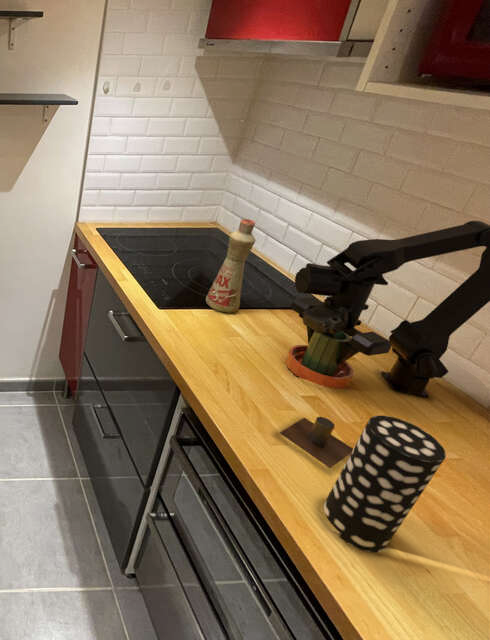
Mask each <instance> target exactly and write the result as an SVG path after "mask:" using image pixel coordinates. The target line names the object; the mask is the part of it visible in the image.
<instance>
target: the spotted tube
mask: <svg viewBox="0 0 490 640" xmlns="http://www.w3.org/2000/svg"><path fill="white" fill-rule="evenodd" d="M363 428H364V429H363V430H362V432H361V434H360V436H359V438H358V439H357V441H356V443H355V445H354V447H353V451H352V453H350V454H349V455H348V459H347V460H346V462H345V463H344V466H343V468H342V469H341V471H340V473H339V475H338V477H337V479H336V480H335V482H334V484H333V486H332V488H331V490H330V492H329V494H328V495H327V497H326V499H325V501H324V503H323V513H324V515H325V517H326V519H327V520H328V521H329V523H330V525H331V526H333V528H334V529H335V530H336V531H333V533H334V534H335V535H336V536H337V537H339V538H340V540H342V541H344V542H345V543H346V544H348V545H350V546H352V547H354V548H356V549H358V550H361V551H364V552H369V553H382V552H383V551H385V549H386V548H387V546H388V545H389V543H390V541H391V540H392V539H393V538H394V536H395V534H396V533H397V531H398V530H399V528H400V527H401V525H402V524H403V522H404V521H405V519H406V518H407V516H408V515H409V513H410V512H411V510H412V509H413V507H414V506H415V504H416V503H417V501H418V499H419V498H420V497H421V495H422V494H423V493H424V490H425V489H426V487H427V486H428V484H429V483H430V482H431V480H432V479H433V477H434V475H435V474H436V472H437V471H438V470H439V468H440V467H441V465H442V464H443V462H444V460H445V459H446V457H447V452H446V450H445V448H444V447H443V445H442V444H441V443H440V442H439V441H438V440H437V439H436V438H435V437H434V436H432V435H431V434H430V433H428V432H427V431H425V430H424V429H422V428H420V427H419V426H417V425H415V424H413V423H411V422H409V421H406V420H404V419H401V418H397V417H394V416H389V415H374V416H372V417H370V418H369V420H368V422H367V423H366V424H365V427H363ZM337 531H338V532H337Z"/></svg>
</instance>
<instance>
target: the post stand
mask: <svg viewBox="0 0 490 640" xmlns="http://www.w3.org/2000/svg"><path fill="white" fill-rule="evenodd" d="M335 427H336V426H335V423H334V422H333V421H332V420H330V419H329V418H326V417H323V416H318V417H316V418H315V421H314V422H312V421H311V420H309V419H307V418H306V417H302V418H301V419H299V420H298V421H296V422H295V423H293V424H291V425H290V426H288V427H286V428H285V429H283V430H281V431H280V432H279V434H280V435H281V436H283V437H284V438H286V439H287V440H288V441H290V442H291V443H293V444H295V445H296V446H297V447H299V448H300V449H301V450H303V451H304V452H306V453H307V454H309V455H310V456H312V457H313V458H314V459H316V460H317V461H319V462H320V463H321V464H323V465H324V466H326V467H327V468H328V469H331V468H333V467H335V465H337V464H338V463H340V462H342V460H343V459H345V458H347V456H348V457H349V456H350V454H351V453H352V451H353V449H354V447H353V448H352V447H351V446H349V445H348V444H346V443H345V442H343V441H342V440H340V439H338V438H337V437H336V436H335V435H333V434H332V433H333V431H334V429H335Z"/></svg>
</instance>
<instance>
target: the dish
mask: <svg viewBox="0 0 490 640" xmlns="http://www.w3.org/2000/svg"><path fill="white" fill-rule="evenodd" d="M307 347H308V344H296V345H293V346H292V347H290V348H289V351H288V353H287V356H286V358H285V364H286V366H287V368H288V369H289V370H290V371H291V372H292V373H293V374H294V375H296V376H297V377H299V378H300V379H302V380H307V381H308V382H311V383H313V384H316V385H318V386H322V387H326V388H330V389H331V388H332V389H342V388H343V389H345V388H347V387H349V385H350V383H351V381H352V379H353V377H354V373H355V370H354V369H353V367H352V366H351V364H350V363H349V362H348V361H347V360H346V361H345V362H344V363H342V364H340V365H339V367H338V369H337V371H336V374H335V376H334V377H331V376H326V375H323V374H320V373H317V372H315V371H312V370H310V369H309V368H307V367H305V366H303V365H302V364H300V363H301V361H302V359H303V356H304V354H305V352H306V349H307Z"/></svg>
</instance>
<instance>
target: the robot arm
mask: <svg viewBox="0 0 490 640" xmlns="http://www.w3.org/2000/svg"><path fill="white" fill-rule="evenodd" d="M481 247H485V249H484V250H483V252H482V253H481V256H480V260H479V266H478V268H477V269H476V270H475V272H473V273H472V274H471V275H469V277H467V279H465V281H463V282H462V283H461V284H460V285H459V286H458V287H457V288H456V289H455V290H453V291H452V292H451V293H450V294H449V295H448V296H447V297H446V298H445V299H444V300H442V301H441V302H440V303H439V304H438V305H437V306H436V307H435V308H434V309H432V311H430V312H429V313H428V314H427V315H426V316H425V317H423V318H421V319H419V320H415V321H411V322H410V321H409V320H407V319H404V320H402V321H400V323H399V324H398V325H397V326H396V327H395V328H394V329H391V330H390V333H391V334H390V335H389V336H388V339H387V338H385V337H383V336H382V335H380V334H379V333H376V332H375V331H365V332H362V331H361V330H359V329H357V328H355V327H357V326H361V325H362V320H360V317H361V315H362V312H363V311H367V310H368V309H369V307H370V305H368V304H367V302H368V299H369V298H370V295H371V293H372V291H373V289H374V286H375V285H379V286H388V285H389V282H388V281H387V280H386V279H385V277H384V275H385V274H389V273H391V272H394V271H397V270H398V269H399V268H401V267H402V266H403V265H405V264H407V263H410V262H413V261H414V262H415V261H419V260H422V259H428V258H432V257H437V256H442V255H447V254H451V253H457V252H461V251H466V250H470V249H475V248H481ZM326 264H327V265H323V264H322V265H321V264H317V263H311V262H310V263H309V262H308V263H306V265H305V267H302V268H301V269H299V270H298V271H297V272H296V274H295V276H294V287H295V289H296V291H297V292H298V293H299V294H307V295H316V296H324V297H325V296H326V298H325V299H324V300H323V302H322V301H321V300H318V299H316V298H315V297H313V296H311V297H310V296H309V297H300V298H296V299H294V300H293V301H292V302H291V305H290V310H292V311H294V312H295V313H297V314H298V317H299V318H300V319H301V320H302V324H303V325H304V326H305V327H306V333H307V345H308V344H309V342H310V340H311V337H312V335H313V333H314V331H315V332H317V333H320V334H322V333H325V332H331V333H332V334H336V333H338V332H340V331H342V332H344V333H346V334H347V335H349V336H350V337H351V340H350V341H346V342H342V344H343V349H342V351H341V353H340V355H339V357H338V359H337V362H336V364H338V365H339V364H342V363H344V362H345V361H346V362H347V361H348V360H350V359H351V358H352V357H354V356H356V355H357V354H359V353H361V354H363V355H365V356H376V355H377V356H378V355H383V354H389V352H390V350H391V352H392V353H394V354H395V355H396V356H397V358H396V360H395V362H394V364H393V366H392V367H391V369H390V371H381V372H380V374H381V376H382V378H384V380H385V381H386V382H387V384H388V385H389V387H390V388H391V389H392V390H393V391H395V392H397V393H398V392H399V393H403V394H409V395H412V396H413V395H414V396H417V397H418V396H419V397H423V398H430V397H431V396H430V394H429V393H428V392H427V391H426V387H427V386H428V385H429V382H430V379H431V380H432V379H433V380H434V378H437V379H442V378H443V377H444V376H446V375H447V374H448V373H449V370H448V369H447V367H446V366H445V365H444V363H443V362H442V361H441V358H442V357H443V356H444V354H445V353H446V352H447V351H448V347H449V342H450V337H451V336H452V335H453V333H455V332H456V331H457V330H458V329H459V328H460V327H462V326H463V325H464V324H465V323H466V322H468V321H469V320H470V319H471V318H472V317H473V316H474V315H475V314H477V313H478V312H479V311H480V310H482V309H483V308H484V307H485V306H486V305H487V304H489V302H490V224H489V223H487V222H485V221H482V220H470V221H467V222H465V223H464V224H461V225H460V224H459V225H455V226H451V227H445V228H442V229H437V230H433V231H429V232H425V233H420V234H415V235H411V236H406V237H403V238H397V239H382V238H373V239H363V240H356V241H353V242H351V243H349V245H348V246H347V248H345V249H344V250H342V251H341V252H339V253H338V254H336V255H335V256H333V257H332V258H330V259H328V260H327V261H326ZM346 264H349V265H350V266H352V267H353V268H354V270H352V268H350V267H349V266H348V265H346Z"/></svg>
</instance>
